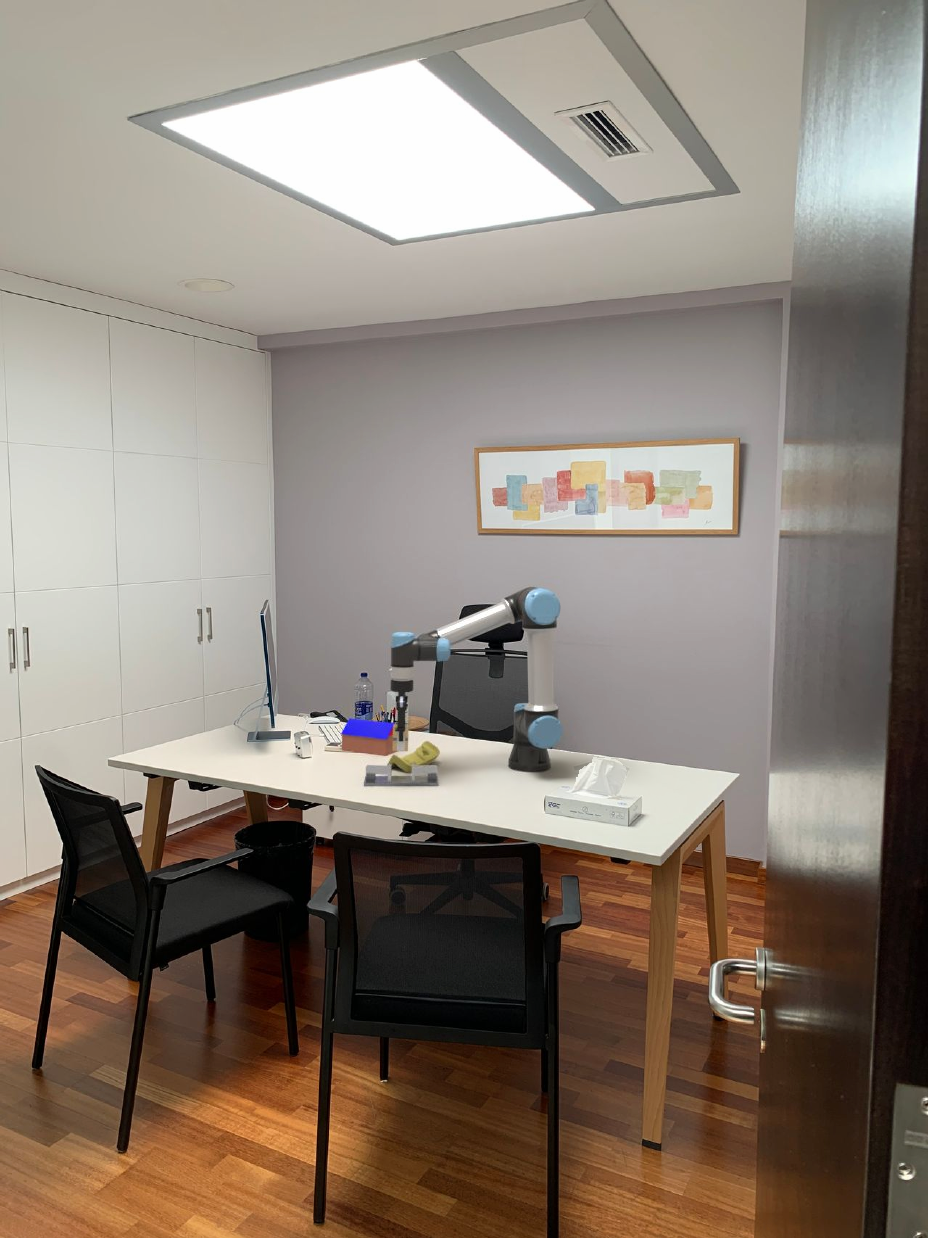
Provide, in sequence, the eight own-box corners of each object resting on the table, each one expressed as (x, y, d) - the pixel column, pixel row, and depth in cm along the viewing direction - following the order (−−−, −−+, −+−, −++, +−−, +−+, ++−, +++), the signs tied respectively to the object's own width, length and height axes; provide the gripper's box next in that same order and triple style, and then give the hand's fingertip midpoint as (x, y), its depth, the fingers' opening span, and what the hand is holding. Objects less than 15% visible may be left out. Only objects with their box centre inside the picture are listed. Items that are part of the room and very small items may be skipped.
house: (386, 757, 340) (386, 726, 339) (340, 751, 348) (340, 721, 347) (401, 750, 351) (402, 720, 350) (357, 745, 359) (357, 715, 358)
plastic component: (412, 768, 314) (390, 752, 319) (405, 785, 317) (384, 769, 321) (444, 753, 330) (424, 738, 335) (438, 769, 333) (418, 754, 338)
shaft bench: (437, 778, 309) (437, 762, 308) (438, 786, 300) (438, 769, 299) (365, 779, 307) (365, 762, 307) (363, 786, 298) (363, 769, 298)
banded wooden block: (408, 748, 305) (408, 724, 304) (407, 751, 300) (408, 727, 299) (392, 747, 305) (393, 724, 304) (392, 751, 300) (392, 727, 299)
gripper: (391, 675, 309) (390, 742, 311) (389, 683, 291) (388, 754, 293) (413, 675, 310) (412, 742, 312) (413, 683, 292) (412, 755, 294)
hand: (400, 748), depth 302 cm, fingers closed on banded wooden block, 5 cm apart
